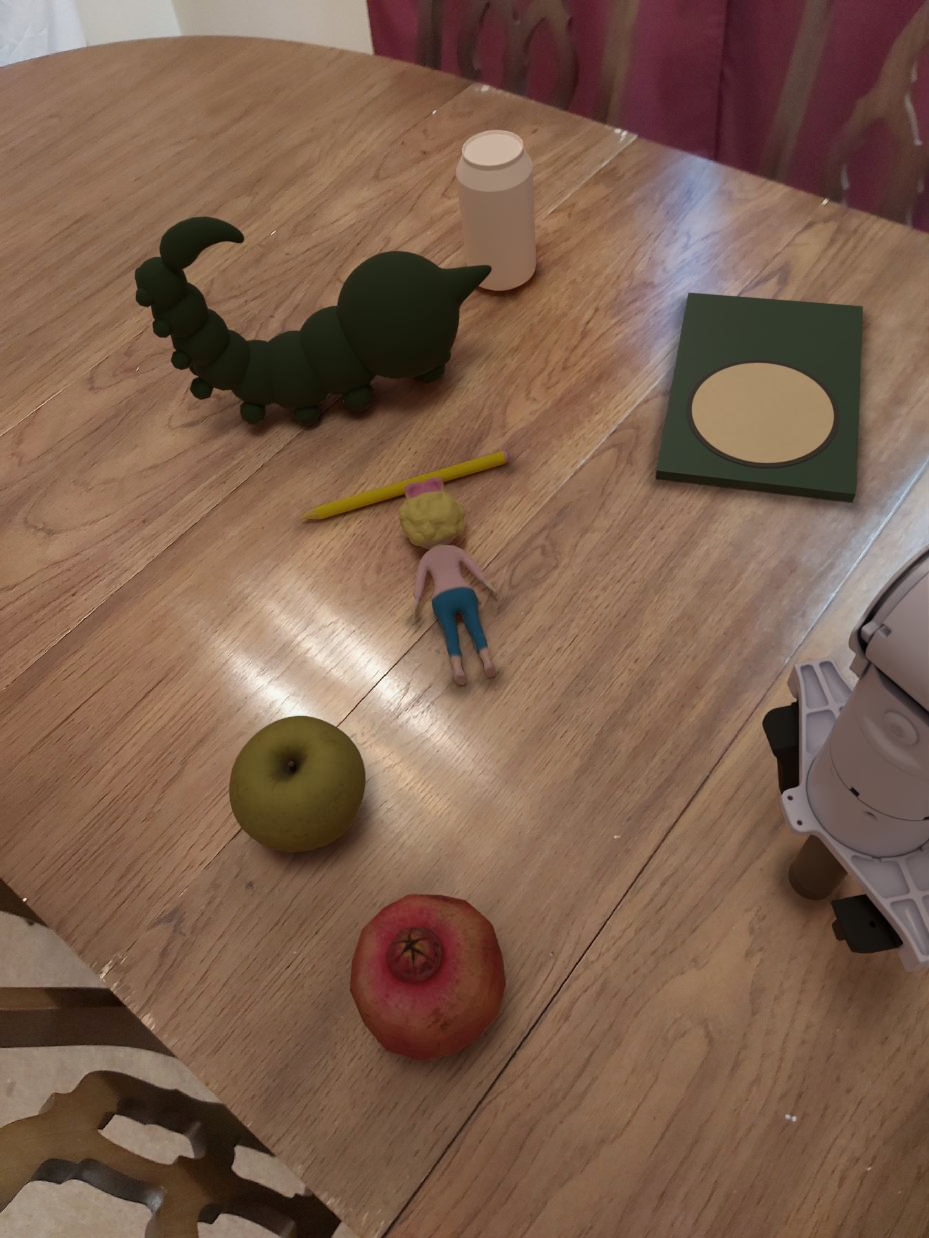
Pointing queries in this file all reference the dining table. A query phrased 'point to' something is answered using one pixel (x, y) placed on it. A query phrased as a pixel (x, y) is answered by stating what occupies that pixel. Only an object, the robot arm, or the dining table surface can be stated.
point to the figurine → (445, 566)
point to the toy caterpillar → (308, 328)
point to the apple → (297, 784)
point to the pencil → (399, 487)
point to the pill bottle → (815, 871)
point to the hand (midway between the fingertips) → (825, 859)
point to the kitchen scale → (765, 397)
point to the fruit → (427, 976)
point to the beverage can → (498, 208)
